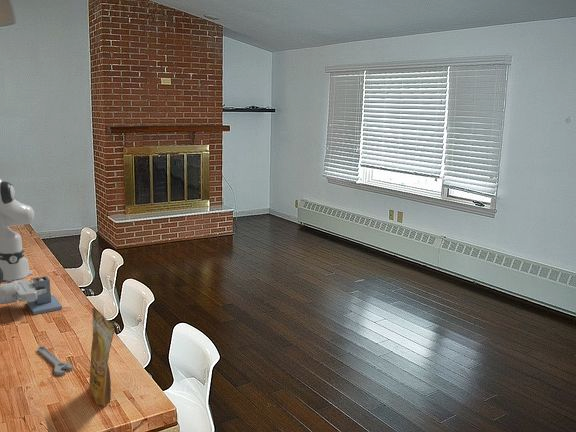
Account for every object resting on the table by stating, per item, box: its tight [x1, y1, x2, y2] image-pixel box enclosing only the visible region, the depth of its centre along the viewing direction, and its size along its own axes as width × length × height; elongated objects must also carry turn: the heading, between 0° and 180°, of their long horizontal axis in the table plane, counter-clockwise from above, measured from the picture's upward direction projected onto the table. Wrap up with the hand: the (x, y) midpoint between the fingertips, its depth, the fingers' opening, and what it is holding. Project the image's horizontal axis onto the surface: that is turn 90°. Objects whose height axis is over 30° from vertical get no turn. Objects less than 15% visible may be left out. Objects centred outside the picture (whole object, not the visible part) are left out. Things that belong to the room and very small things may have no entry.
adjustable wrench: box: [37, 346, 73, 376], centre depth 202 cm, size 25×6×2 cm, turn 40°
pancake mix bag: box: [88, 307, 115, 408], centre depth 178 cm, size 7×19×28 cm, turn 30°
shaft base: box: [26, 279, 63, 316], centre depth 250 cm, size 16×12×12 cm
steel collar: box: [32, 276, 52, 305], centre depth 252 cm, size 6×6×11 cm
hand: (43, 287), depth 252 cm, fingers open, 8 cm apart
